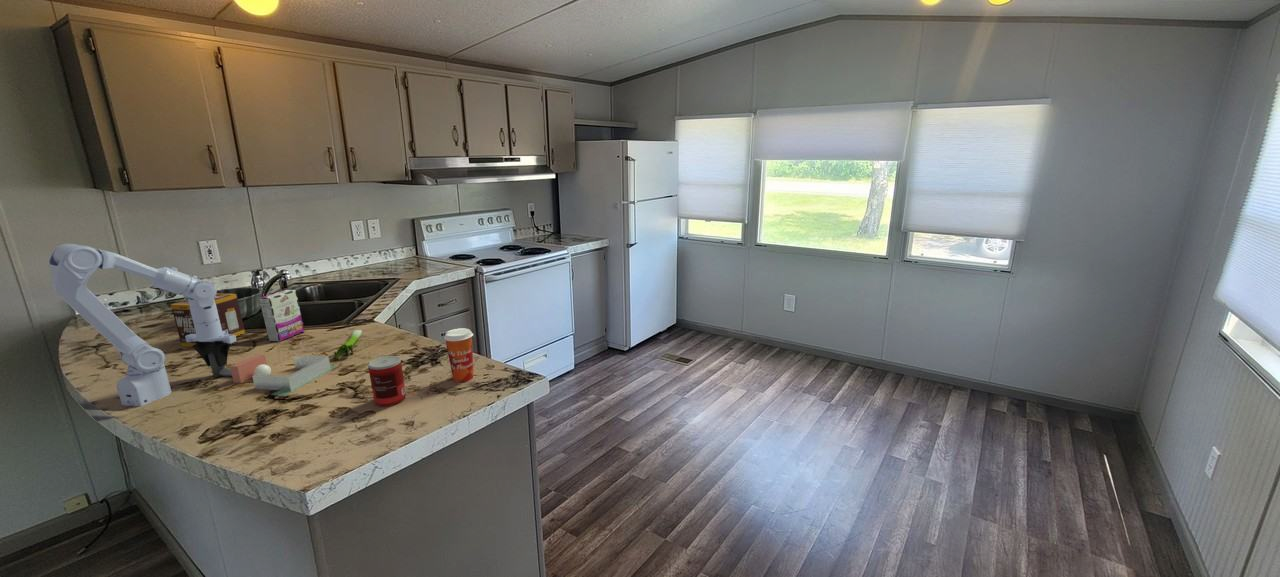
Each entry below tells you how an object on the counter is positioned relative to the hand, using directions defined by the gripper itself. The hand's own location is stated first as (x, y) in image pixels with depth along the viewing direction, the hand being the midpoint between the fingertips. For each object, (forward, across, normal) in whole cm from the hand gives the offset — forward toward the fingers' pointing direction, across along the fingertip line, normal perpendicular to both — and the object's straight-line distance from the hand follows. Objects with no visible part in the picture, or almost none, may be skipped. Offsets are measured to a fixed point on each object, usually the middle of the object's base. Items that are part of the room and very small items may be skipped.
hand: (217, 365), depth 149 cm
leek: (+5, -22, -27) cm, 35 cm away
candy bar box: (+5, +10, -36) cm, 38 cm away
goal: (+3, -24, 0) cm, 24 cm away
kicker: (+3, -5, 0) cm, 6 cm away
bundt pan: (+5, +56, -56) cm, 79 cm away
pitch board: (+4, -13, 0) cm, 14 cm away
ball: (+1, -15, 0) cm, 15 cm away
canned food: (+5, -60, +8) cm, 60 cm away
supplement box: (+5, +36, -31) cm, 47 cm away
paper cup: (+5, -72, -7) cm, 73 cm away
